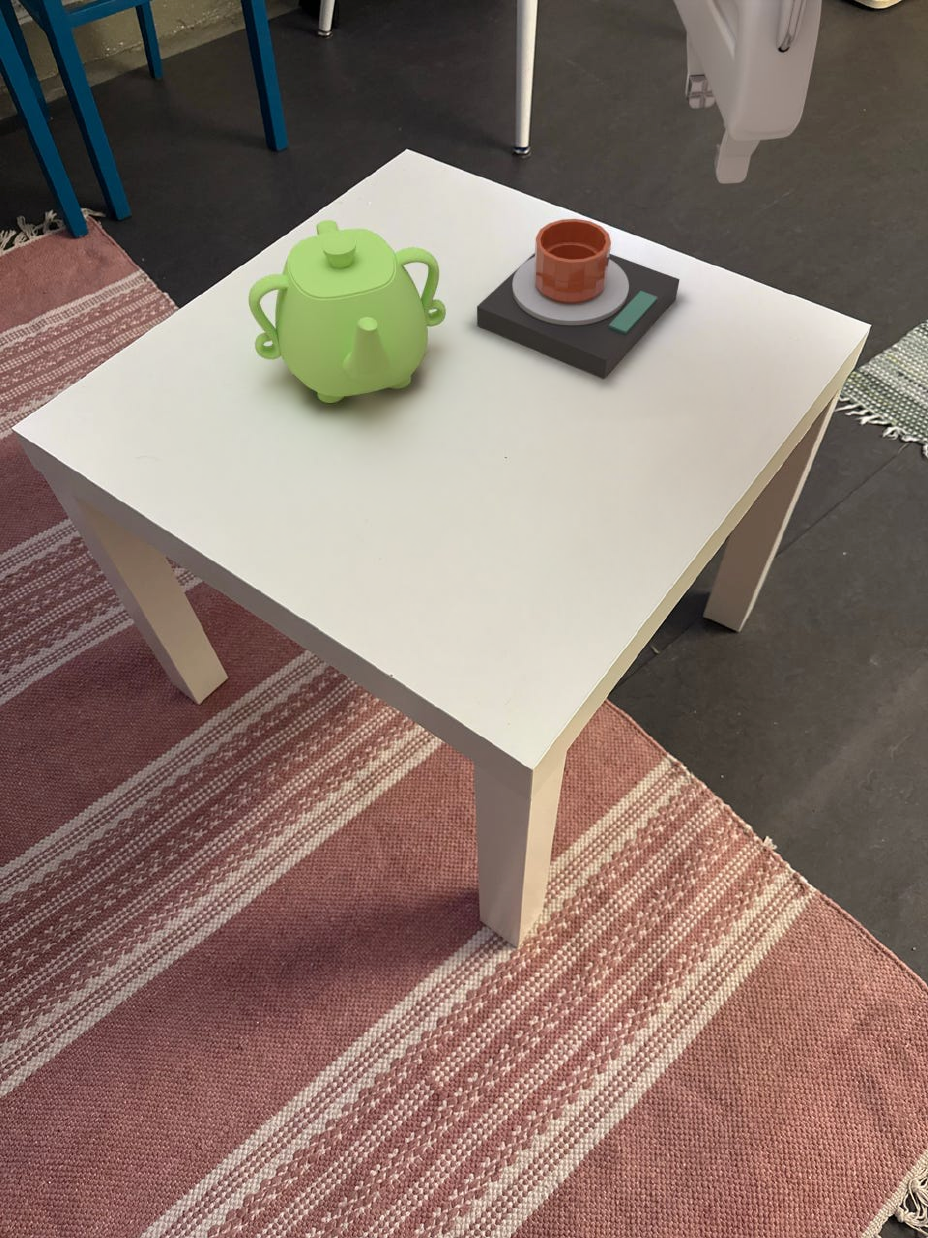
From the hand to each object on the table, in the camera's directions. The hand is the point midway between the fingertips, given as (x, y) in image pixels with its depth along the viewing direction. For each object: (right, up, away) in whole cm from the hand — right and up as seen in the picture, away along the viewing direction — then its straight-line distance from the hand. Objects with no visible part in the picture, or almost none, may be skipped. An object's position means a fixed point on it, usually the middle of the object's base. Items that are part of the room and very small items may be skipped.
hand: (713, 138), depth 60 cm
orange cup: (-6, 0, +27) cm, 28 cm away
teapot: (-26, -9, +25) cm, 37 cm away
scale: (-5, -2, +29) cm, 29 cm away
